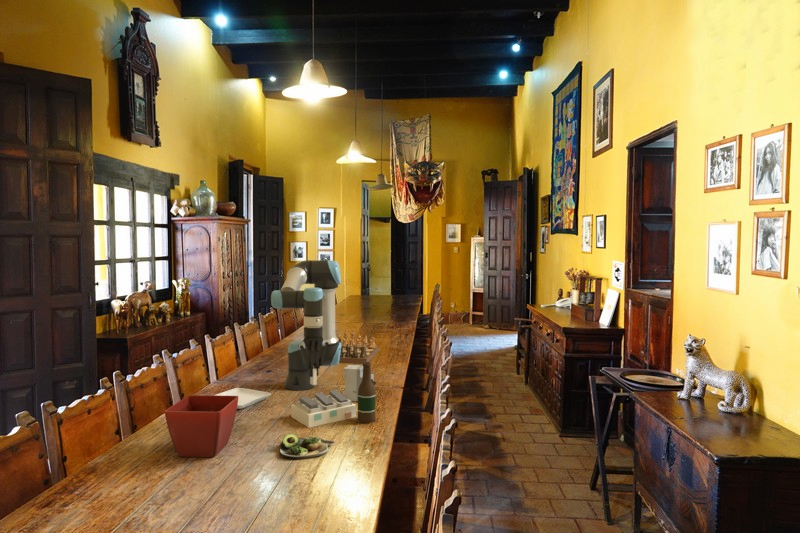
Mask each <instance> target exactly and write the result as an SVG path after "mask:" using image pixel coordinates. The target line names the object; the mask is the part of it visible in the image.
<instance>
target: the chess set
mask: <svg viewBox="0 0 800 533" xmlns="http://www.w3.org/2000/svg"><path fill="white" fill-rule="evenodd" d="M350 331H351V332H350V333H349V334H350V338H349V339H348V340H349V341H348V340H347V338H348V332H347V330H346V331H344V332H343V338H342V339H341V337H342V336H341V334H340V333H338V334H337V336H336V337H337V338H338V339H339V342H340V343H342V344H341V353H340V360H339V364H350V365H363V363H364V362H370V361H371V360H372V359H373V358H374V357H375V356H376V354H378V352H380V345H376V343H375V340H376V337H374V336H371V337H370V339H369V342H368V336H367V335H365V337H364V339H362V336H361V334H360V333H359V334H358V336H357V338H356V337H355V330H354V329H351V330H350ZM354 338H356V340H355V339H354ZM361 341H362V342H361Z"/></svg>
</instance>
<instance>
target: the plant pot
mask: <svg viewBox="0 0 800 533" xmlns="http://www.w3.org/2000/svg"><path fill="white" fill-rule="evenodd" d="M237 405H238V396H217V395H216V394H214V395H211V394H210V395H208V394H207V395H202V394H201V395H195V394H194V395H191V394H190V395H187V396H185V397H184V398H182V399H181V400H179V401H178V402H176V403H175V404H173V405H172V406H169V407H168V408H167V409H165V410H164V417H165V421H166V425H167V428H168V433H169V436H170V439H171V442H172V444H173V446H174V449H175V451H176V453H177V455H178V457H181V458H182V457H186V458H187V457H193V458H196V457H197V458H214V457H216V456H218V454H219V453H220V452H221V451H222V450H223V449H224V448H225V447H226V446H227V445H228V443H229V441H230V437H231V434H232V431H233V428H234V423H235V420H236V415H237V410H238V409H237Z"/></svg>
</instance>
